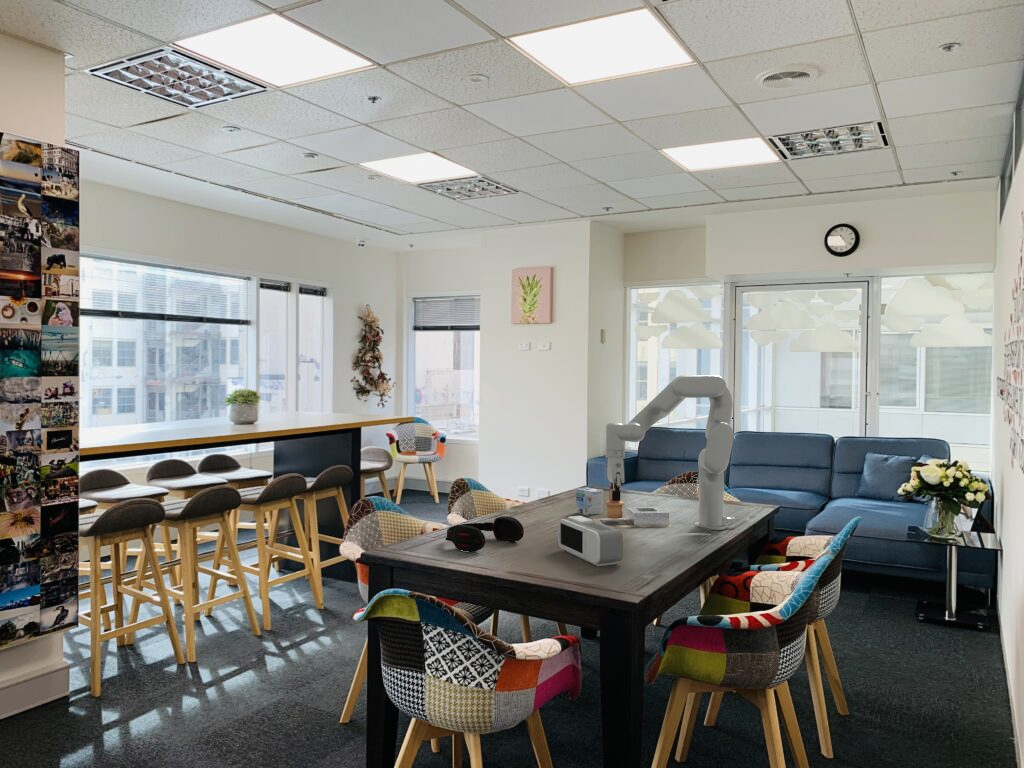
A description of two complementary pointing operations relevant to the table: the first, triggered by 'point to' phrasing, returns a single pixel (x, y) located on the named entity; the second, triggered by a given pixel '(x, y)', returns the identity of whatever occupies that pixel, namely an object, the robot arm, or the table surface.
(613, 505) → the end cover
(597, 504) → the light bulb box
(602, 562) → the alarm clock
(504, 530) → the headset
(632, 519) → the plate
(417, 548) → the table surface
